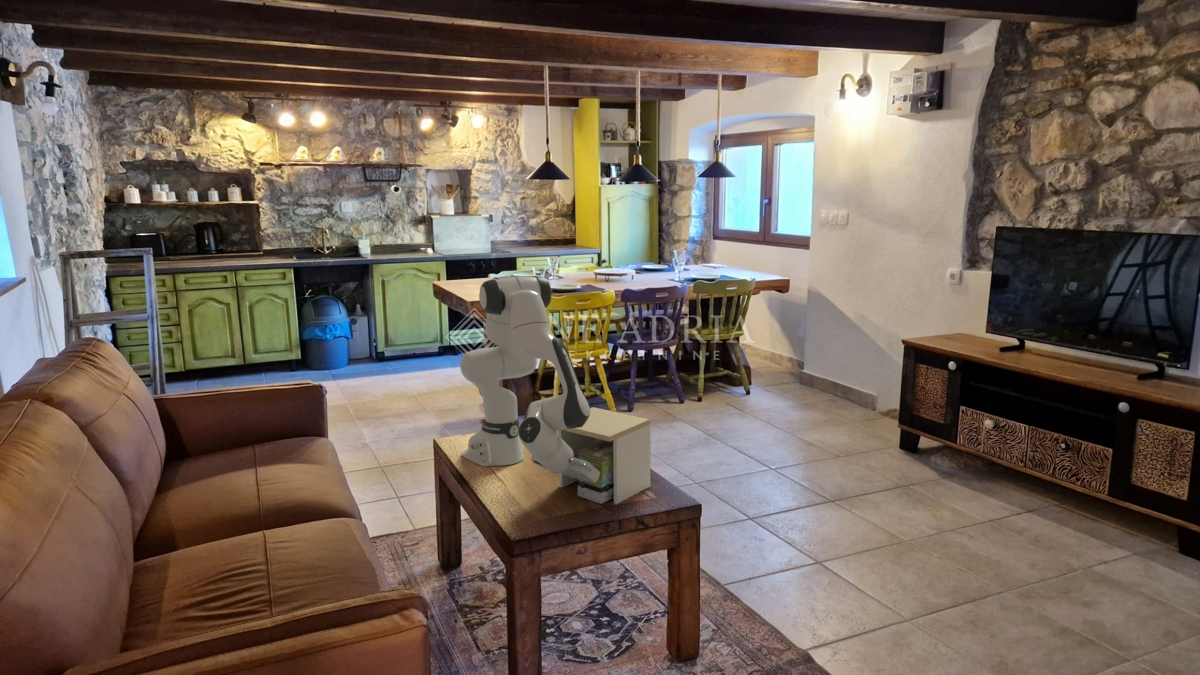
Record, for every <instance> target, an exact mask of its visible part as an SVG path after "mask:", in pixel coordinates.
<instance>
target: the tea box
mask: <svg viewBox="0 0 1200 675" xmlns="http://www.w3.org/2000/svg"><path fill="white" fill-rule="evenodd" d="M578 459H581V460H584V461H587V462H589V463H590V464H591V465H593V466H594V467H595V468H596V469H597V470H598V471H599V472H600V476H599V478H598V480H597V482H596V483H590V482H587V481H584V480H583V482H580V481H577V496H578V497H581V498H583V499H585V500H586V499H587V500H589V501H590V502H591V501H592V502H594V503H598V504H600V505H602V504H604V503H606V502H608V501H610V500H611V499H612V500H613V499H614V464H613V440H612V441H610V442H609V441H605V440H604V441H601V442H598V443H596V444H593V445H590V446H588V447H585V448H582V449H580V450H578Z"/></svg>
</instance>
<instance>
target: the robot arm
mask: <svg viewBox="0 0 1200 675" xmlns="http://www.w3.org/2000/svg"><path fill="white" fill-rule="evenodd" d="M478 296H479V297H478V299H479V303H480V306H481V308H482V310H483V311H485V313H486V316H485V317H486V319H485V320H486V321H485V331H484V332H485V335H486V337H487V338H488V340H489V341H490V342H491V343H493V344H495V345H497V346H494V347H482V348H476V349H474V350H470V351H467V352H464V354H463V355H462V357H461V360H460V366H459V367H460V372H461V374H462V376H463V377H464V379H466V380H467V381H468V382H470V383H472V385H474V386H475V387H476V388H477V390H478V391H479V393H480V395H481V397H482V402H483V409H484V419H480V420H479V424H480V425H481V424H482V426H481V428H480V429H479V430H478V431H477V432H475V433H474V434H473V435H471V436H470V438H468V439H469V440H468V442H467V445H468V446H467V448H466V449H464V450H463V451H462V452H461V455H460V456H461V457H463V458H465V459H467V460H469V461H471V462H473V463H475V464H477V465H480V467H484V468H485V467H492V466H494V467H495V466H498V467H500V466H508V465H509V466H510V465H513V464H514V465H515V464H517V463H520V462H521V461H523V460H524V459H525V455H524V449H523V447H522V445H523V446H524V448H525V449H526V450H527V452H529V453H530V454H531V455H532V456H531V458H530V461H532V463H533V464H536V465H538V466H539V467H540V468H543V469H544V470H546V471H549V472H550V473H553V474H559V473H560V474H563V475H567V476H570V477H572V478H573V479H574V480H577V481H576V482H578V481H580V482H583V480H584V481H587V482H590V483H596V482H597V480H598V478H599V476H600V472H599V471H598V470H597V469H596V468H595V467H594V466H593V465H591V464H590V463H589V462H587V461H584V460H581V459H577V458H574V457H573V456H574V454H573V450H572V449H571V448H570V447H569V446H568V445H567V444H566V443H565V442H564V440H562V439H561V438H559V437H558V431H559V430H564V429H568V428H569V429H571V428H579V427H582V426H583V425H584V424H585V423H586V421H587V420H588V418H589V416H590V404H589V401H588V399H587V397H586V395H585V394H584V391H583V389H582V387H581V384H580V382H579V379H578V375H577V374H576V370H575V368H574V364H573V362H572V359H571V357H570V354H569V352H568V349H567V347H566V345H565V343H564V342H563V340H562V339H561V338H558V337H556V336H555V335H554V334H553V332H552V330H551V326H550V321H549V317H548V312H547V309H546V308H548V307H549V305H550V303H551V301H552V287H551V284H550V282H549V280H548V279H547V278H546V277H543V276H540V275H533V276H529V275H528V276H527V275H525V276H524V275H522V276H521V275H520V276H519V275H517V276H512V277H511V276H509V277H504V278H498V279H495V278H492V279H488V280H486V281H483V282H482V284H481V285H480V289H479V294H478ZM538 360H546V361H548V362H551V363H552V365H553V366H554V368H555V371H556V373H557V375H558V379H559V382H560V384H561V387H562V391H563V392H562V394H559V395H555V396H552V397H545V398H543V399H539V400H535V401H532V402H530V404H529V405H528V406H527V408H526V411H525V413H524V415H523V416H524V417H523V420H522V422H521V423H520V419H519V416H518V414H519V413H518V399H517V398H518V397H517V396H516V394H515V393H514V392H513V391H512V390H510V389H507V388H505V387H502V386H500V381H501V380H509V379H517V378H522V377H525V376H528V375H531V374H533V373H534V371H535V370H536V368H537V366H538V365H537V363H538Z"/></svg>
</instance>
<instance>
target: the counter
mask: <svg viewBox="0 0 1200 675" xmlns="http://www.w3.org/2000/svg"><path fill="white" fill-rule="evenodd" d="M557 435H558V437H559V438H561V439H562V440H564V442H565V443H566V444H567V445H568V446H569V447H570V448H571V449H572V450H573V454H574V456H573V457H574V458H577V459H578V450H580V449H582V448H585V447H588V446H590V445H593V444H596V443H598V442H601V441H604V440H605V441H609V442H610V441H612V440H613V464H614V498H613V504H614V503H615V504H614V505H619V504H621V503H623V502H624V501H623V500H625V501H626V500H629V499H630V498H632V497H634V496H636V495H637V494H639V493H641V492H643V491H645V490H647V489H648V488H650V487H651V419H650V418H645V417H640V416H636V415H630V414H626V413H621V412H618V411H613V410H608V409H603V408H599V407H594V406H593V407H592V406H591V408H590V416H589V418H588V420H587V421H586V423H585V424H584V425H583V426H582V427H579V428H571V429H569V428H568V429H564V430H559V431H557ZM575 482H578V481H577V480H574V479H573V478H572V477H570V476H567V475H563V474H560V473H558V484H559V485H558V487H559V488H562V489H563V488H565V487H566V486H568V485H571V484H573V483H575ZM644 489H645V490H644ZM642 490H643V491H642ZM640 491H641V492H640ZM638 492H639V493H638ZM635 494H636V495H635ZM633 495H634V496H633ZM631 496H632V497H631ZM629 497H630V498H629ZM622 501H623V502H622ZM620 502H621V503H620ZM618 503H619V504H618Z"/></svg>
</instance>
